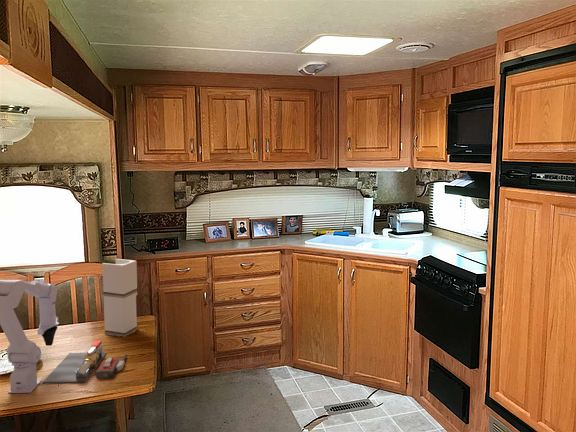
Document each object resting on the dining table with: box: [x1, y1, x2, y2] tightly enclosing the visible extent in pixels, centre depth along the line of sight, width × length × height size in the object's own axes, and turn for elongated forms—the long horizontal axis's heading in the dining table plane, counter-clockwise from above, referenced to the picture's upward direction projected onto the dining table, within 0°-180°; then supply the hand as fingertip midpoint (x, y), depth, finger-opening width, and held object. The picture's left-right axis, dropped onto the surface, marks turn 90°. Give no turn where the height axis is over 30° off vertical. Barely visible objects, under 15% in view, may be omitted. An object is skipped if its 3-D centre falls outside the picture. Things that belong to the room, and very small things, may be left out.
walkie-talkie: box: [95, 353, 128, 379], centre depth 195 cm, size 9×4×20 cm
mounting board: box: [42, 352, 107, 384], centre depth 194 cm, size 26×16×1 cm, turn 3°
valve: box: [76, 345, 105, 378], centre depth 194 cm, size 22×4×5 cm, turn 3°
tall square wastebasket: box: [101, 258, 139, 338], centre depth 231 cm, size 11×11×35 cm
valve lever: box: [86, 339, 102, 355], centre depth 199 cm, size 12×3×1 cm, turn 5°
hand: (49, 345), depth 193 cm, fingers closed
